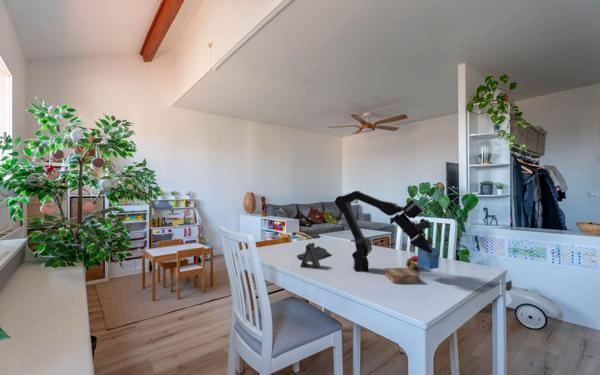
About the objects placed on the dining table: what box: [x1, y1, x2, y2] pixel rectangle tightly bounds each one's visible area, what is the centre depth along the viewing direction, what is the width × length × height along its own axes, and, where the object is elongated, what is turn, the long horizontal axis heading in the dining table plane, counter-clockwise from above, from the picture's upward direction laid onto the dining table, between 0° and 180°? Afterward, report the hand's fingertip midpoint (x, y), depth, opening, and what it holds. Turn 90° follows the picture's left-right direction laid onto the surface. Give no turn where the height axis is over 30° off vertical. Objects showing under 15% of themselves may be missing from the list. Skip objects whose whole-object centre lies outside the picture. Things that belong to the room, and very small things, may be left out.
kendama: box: [405, 255, 423, 272], centre depth 142 cm, size 8×6×18 cm
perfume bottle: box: [417, 239, 440, 270], centre depth 127 cm, size 6×6×12 cm
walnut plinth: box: [384, 267, 420, 284], centre depth 127 cm, size 11×11×4 cm
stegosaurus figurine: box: [296, 245, 332, 263], centre depth 169 cm, size 15×22×5 cm
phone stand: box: [300, 242, 321, 270], centre depth 148 cm, size 9×6×12 cm, turn 69°
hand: (431, 251), depth 127 cm, fingers closed on perfume bottle, 5 cm apart
